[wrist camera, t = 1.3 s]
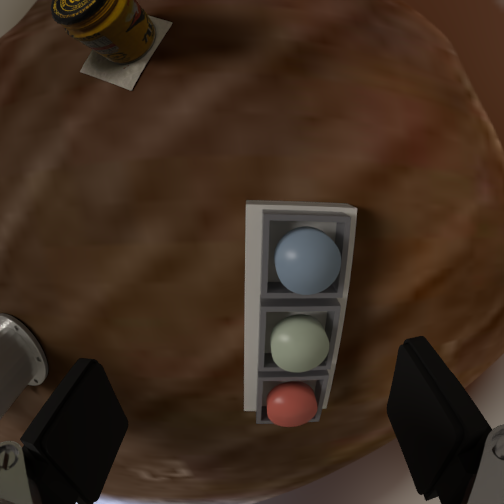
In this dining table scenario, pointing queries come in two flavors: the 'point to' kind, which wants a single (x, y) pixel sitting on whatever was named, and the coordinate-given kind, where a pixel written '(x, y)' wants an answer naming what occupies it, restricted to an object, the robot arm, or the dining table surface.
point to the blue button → (307, 260)
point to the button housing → (290, 296)
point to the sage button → (299, 343)
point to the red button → (291, 404)
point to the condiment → (112, 36)
